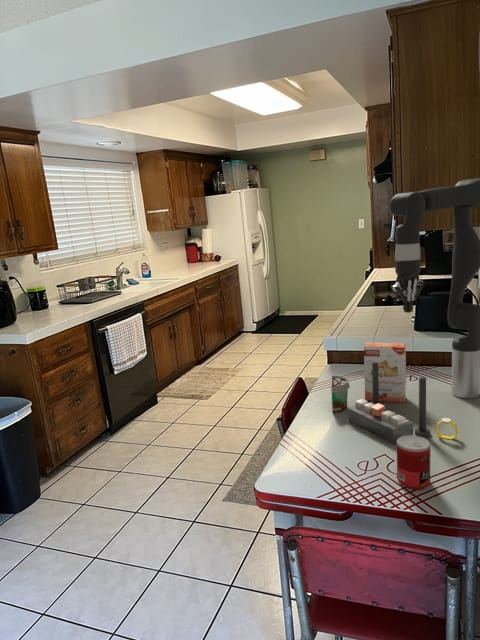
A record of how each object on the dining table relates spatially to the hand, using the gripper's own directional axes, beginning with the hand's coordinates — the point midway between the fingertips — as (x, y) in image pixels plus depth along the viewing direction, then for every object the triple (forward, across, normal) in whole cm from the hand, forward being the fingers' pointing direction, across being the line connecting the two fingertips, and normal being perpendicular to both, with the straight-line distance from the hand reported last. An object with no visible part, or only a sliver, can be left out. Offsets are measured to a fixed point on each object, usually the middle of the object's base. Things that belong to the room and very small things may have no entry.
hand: (408, 312), depth 154 cm
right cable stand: (+35, +8, +13) cm, 38 cm away
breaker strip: (+35, +16, +3) cm, 39 cm away
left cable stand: (+35, +8, -7) cm, 37 cm away
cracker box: (+35, -3, -14) cm, 38 cm away
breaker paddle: (+30, +16, +3) cm, 34 cm away
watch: (+35, +4, +19) cm, 40 cm away
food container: (+35, +14, -18) cm, 42 cm away
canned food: (+35, +30, +30) cm, 55 cm away
